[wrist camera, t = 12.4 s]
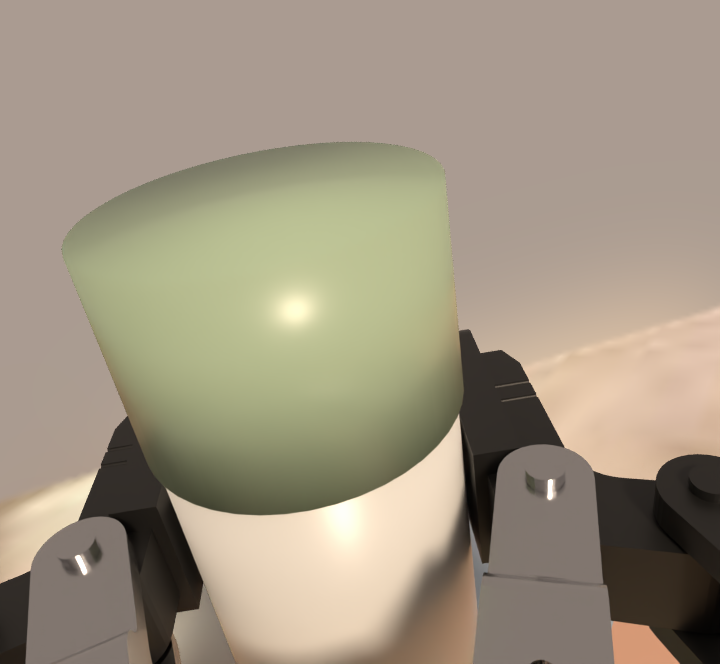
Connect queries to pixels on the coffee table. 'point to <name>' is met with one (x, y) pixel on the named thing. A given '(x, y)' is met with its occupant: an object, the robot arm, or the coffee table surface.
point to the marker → (298, 393)
